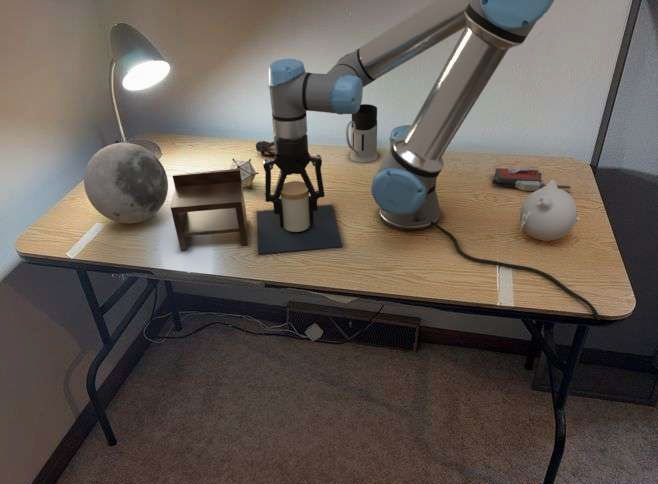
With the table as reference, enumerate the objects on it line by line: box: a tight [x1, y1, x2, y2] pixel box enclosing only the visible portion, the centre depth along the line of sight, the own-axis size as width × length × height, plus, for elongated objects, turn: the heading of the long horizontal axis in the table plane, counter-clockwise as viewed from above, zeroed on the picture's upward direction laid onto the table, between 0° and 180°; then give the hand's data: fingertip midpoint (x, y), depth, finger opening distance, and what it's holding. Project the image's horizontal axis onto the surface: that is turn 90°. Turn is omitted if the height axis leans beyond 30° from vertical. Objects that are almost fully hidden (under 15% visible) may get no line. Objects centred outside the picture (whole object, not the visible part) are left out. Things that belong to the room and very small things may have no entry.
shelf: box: [170, 168, 249, 253], centre depth 129 cm, size 16×11×15 cm
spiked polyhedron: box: [229, 158, 260, 190], centre depth 152 cm, size 9×8×10 cm
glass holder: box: [345, 103, 379, 164], centre depth 161 cm, size 9×14×15 cm, turn 146°
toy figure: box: [255, 140, 275, 157], centre depth 167 cm, size 7×6×15 cm
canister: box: [280, 180, 310, 232], centre depth 131 cm, size 7×7×10 cm
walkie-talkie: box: [491, 166, 571, 192], centre depth 147 cm, size 9×4×20 cm
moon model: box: [83, 142, 169, 224], centre depth 136 cm, size 20×20×20 cm
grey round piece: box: [519, 179, 581, 242], centre depth 124 cm, size 15×13×12 cm
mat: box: [256, 204, 343, 256], centre depth 135 cm, size 20×20×1 cm
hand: (296, 222), depth 134 cm, fingers closed on canister, 7 cm apart
